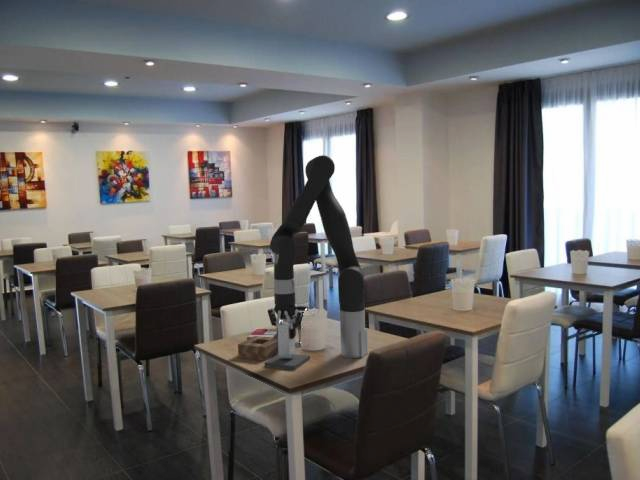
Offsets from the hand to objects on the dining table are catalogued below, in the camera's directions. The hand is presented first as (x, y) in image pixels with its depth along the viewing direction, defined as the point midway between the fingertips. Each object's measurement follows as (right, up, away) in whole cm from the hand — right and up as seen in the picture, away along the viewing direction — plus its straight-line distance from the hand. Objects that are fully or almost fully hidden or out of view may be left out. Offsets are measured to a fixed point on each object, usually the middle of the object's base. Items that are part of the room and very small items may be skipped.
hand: (286, 337), depth 193 cm
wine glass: (+4, -7, +23) cm, 25 cm away
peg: (0, -7, +1) cm, 7 cm away
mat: (0, -9, +1) cm, 9 cm away
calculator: (-11, -8, +31) cm, 34 cm away
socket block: (-11, -9, +12) cm, 19 cm away
